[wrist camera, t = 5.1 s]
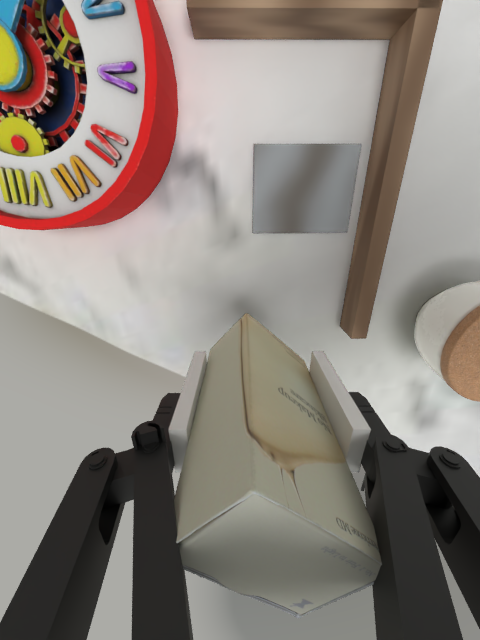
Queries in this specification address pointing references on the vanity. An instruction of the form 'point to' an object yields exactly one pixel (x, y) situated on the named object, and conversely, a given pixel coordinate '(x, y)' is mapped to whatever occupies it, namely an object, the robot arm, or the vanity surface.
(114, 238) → the vanity surface
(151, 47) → the toy clock
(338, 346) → the vanity surface
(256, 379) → the skincare box
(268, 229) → the walnut l-shaped corner bracket
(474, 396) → the lidded jar
